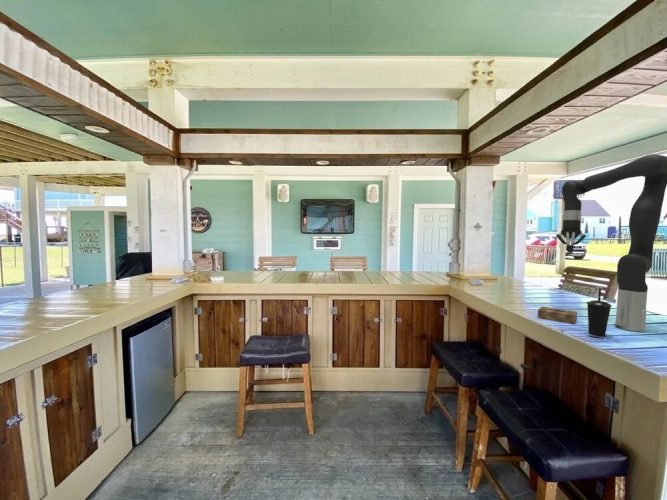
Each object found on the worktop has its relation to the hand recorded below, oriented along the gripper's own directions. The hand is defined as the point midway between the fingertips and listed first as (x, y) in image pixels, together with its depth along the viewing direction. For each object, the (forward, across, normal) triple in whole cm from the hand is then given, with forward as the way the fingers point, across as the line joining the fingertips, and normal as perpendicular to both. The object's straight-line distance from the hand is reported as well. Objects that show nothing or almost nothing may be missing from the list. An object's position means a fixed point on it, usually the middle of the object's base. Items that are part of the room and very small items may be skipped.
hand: (569, 252), depth 159 cm
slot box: (+32, -1, -24) cm, 40 cm away
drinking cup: (+32, +14, -40) cm, 53 cm away
